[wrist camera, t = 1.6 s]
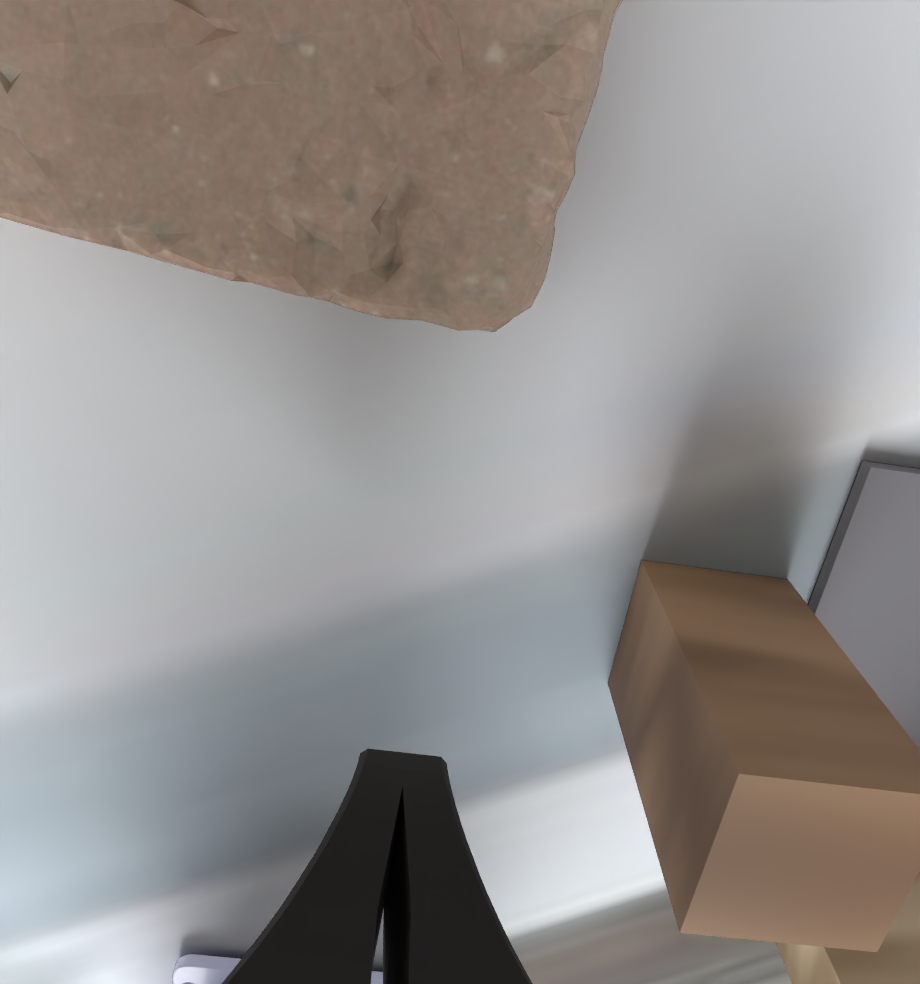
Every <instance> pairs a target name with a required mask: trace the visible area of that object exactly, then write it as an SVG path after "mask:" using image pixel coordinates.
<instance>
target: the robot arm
mask: <svg viewBox="0 0 920 984" xmlns="http://www.w3.org/2000/svg"><path fill="white" fill-rule="evenodd" d="M383 908H384V924H383V972H378V971H372V965H373V960H374V955H375V950H376V945H377V939H378V934H379V929H380V924H381V918H382V913H383ZM173 984H532V982H531V980H530V979H529V977H528V975H527V973H526V971H525V970H524V968H523V966H522V964H521V962H520V960H519V958H518V956H517V955H516V953H515V951H514V949H513V947H512V945H511V943H510V941H509V939H508V937H507V935H506V933H505V931H504V929H503V927H502V925H501V923H500V921H499V918H498V916H497V914H496V912H495V910H494V907H493V905H492V903H491V901H490V898H489V896H488V894H487V892H486V889H485V887H484V884H483V882H482V879H481V877H480V875H479V872H478V869H477V867H476V864H475V861H474V859H473V856H472V853H471V851H470V848H469V845H468V843H467V840H466V837H465V834H464V831H463V828H462V825H461V822H460V818H459V815H458V812H457V808H456V805H455V801H454V798H453V794H452V790H451V786H450V781H449V776H448V770H447V763H446V762H445V761H444V760H443V759H442V757H437V756H428V755H419V754H411V753H402V752H393V751H384V750H375V749H367V750H365V751H363V752H362V753H360V757H359V761H358V765H357V768H356V771H355V773H354V776H353V779H352V782H351V784H350V786H349V789H348V791H347V793H346V795H345V798H344V800H343V802H342V804H341V806H340V808H339V810H338V812H337V814H336V816H335V818H334V820H333V822H332V824H331V825H330V827H329V829H328V831H327V833H326V835H325V837H324V838H323V840H322V842H321V844H320V846H319V848H318V849H317V851H316V853H315V854H314V856H313V858H312V859H311V861H310V862H309V864H308V866H307V867H306V869H305V870H304V872H303V874H302V875H301V877H300V878H299V880H298V881H297V883H296V885H295V886H294V888H293V889H292V891H291V893H290V894H289V896H288V897H287V898H286V900H285V901H284V903H283V904H282V906H281V907H280V909H279V910H278V911H277V913H276V914H275V916H274V917H273V918H272V920H271V921H270V923H269V924H268V925H267V927H266V928H265V929H264V931H263V932H262V933H261V935H260V936H259V937H258V939H257V940H256V941H255V943H254V944H253V945H252V947H251V948H250V949H249V950H248V952H247V953H246V954H245V955H244V957H243V958H242V959H239V958H229V957H218V956H207V955H197V954H187V955H185V956H182V957H180V958H179V959H178V960H177V962H176V965H175V968H174V971H173Z"/></svg>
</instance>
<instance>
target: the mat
mask: <svg viewBox="0 0 920 984" xmlns="http://www.w3.org/2000/svg"><path fill="white" fill-rule="evenodd" d="M808 606H809V608H810V609H811V610H812V612H813V613H814V614H815V615H816V617H817V618H818V619H819V621H820V622H821V623H822V624H823V626H824V627H825V628H826V630H827V631H828V632H829V633H830V635H831V636H832V637H833V639H834V640H835V641H836V642H837V644H838V645H839V646H840V648H841V649H842V650H843V652H844V653H845V654H846V655H847V657H848V658H849V659H850V661H851V662H852V663H853V664H854V666H855V667H856V668H857V670H858V671H859V672H860V673H861V675H862V676H863V677H864V679H865V680H866V681H867V682H868V684H869V685H870V686H871V688H872V689H873V690H874V692H875V693H876V694H877V695H878V697H879V698H880V699H881V701H882V702H883V703H884V704H885V706H886V707H887V708H888V710H889V711H890V712H891V713H892V715H893V716H894V717H895V719H896V720H897V721H898V722H899V724H900V725H901V726H902V728H903V729H904V730H905V732H906V733H907V734H908V735H909V737H910V738H911V739H912V741H913V742H914V743H915V744H916V746H917V747H918V748H919V750H920V469H917V468H910V467H903V466H896V465H889V464H882V463H875V462H868V461H862V463H861V466H860V468H859V471H858V474H857V476H856V479H855V482H854V484H853V487H852V490H851V492H850V495H849V498H848V500H847V503H846V506H845V508H844V511H843V514H842V516H841V519H840V522H839V524H838V527H837V530H836V532H835V535H834V538H833V540H832V543H831V546H830V548H829V551H828V554H827V556H826V559H825V562H824V564H823V567H822V570H821V572H820V575H819V578H818V580H817V583H816V585H815V588H814V591H813V593H812V596H811V599H810V601H809V604H808Z"/></svg>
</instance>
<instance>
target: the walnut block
mask: <svg viewBox="0 0 920 984" xmlns="http://www.w3.org/2000/svg"><path fill="white" fill-rule="evenodd" d="M608 686H609V689H610V693H611V696H612V700H613V703H614V706H615V710H616V713H617V717H618V720H619V724H620V727H621V731H622V734H623V738H624V741H625V745H626V748H627V752H628V755H629V758H630V762H631V765H632V769H633V772H634V776H635V779H636V783H637V786H638V790H639V793H640V797H641V800H642V804H643V807H644V810H645V814H646V817H647V821H648V824H649V828H650V831H651V835H652V838H653V842H654V845H655V849H656V852H657V856H658V859H659V862H660V866H661V869H662V873H663V876H664V880H665V883H666V887H667V890H668V894H669V897H670V901H671V904H672V908H673V911H674V914H675V918H676V921H677V925H678V928H679V932H680V933H688V934H698V935H708V936H718V937H728V938H738V939H748V940H759V941H769V942H779V943H789V944H799V945H809V946H819V947H829V948H839V949H849V950H859V951H869V952H878V950H879V948H880V946H881V944H882V942H883V940H884V938H885V936H886V934H887V933H888V931H889V929H890V927H891V925H892V923H893V921H894V919H895V917H896V915H897V913H898V911H899V910H900V908H901V906H902V904H903V902H904V900H905V898H906V896H907V894H908V892H909V890H910V888H911V887H912V885H913V883H914V881H915V879H916V877H917V875H918V873H919V871H920V750H919V748H918V747H917V746H916V744H915V743H914V742H913V741H912V739H911V738H910V737H909V735H908V734H907V733H906V732H905V730H904V729H903V728H902V726H901V725H900V724H899V722H898V721H897V720H896V719H895V717H894V716H893V715H892V713H891V712H890V711H889V710H888V708H887V707H886V706H885V704H884V703H883V702H882V701H881V699H880V698H879V697H878V695H877V694H876V693H875V692H874V690H873V689H872V688H871V686H870V685H869V684H868V682H867V681H866V680H865V679H864V677H863V676H862V675H861V673H860V672H859V671H858V670H857V668H856V667H855V666H854V664H853V663H852V662H851V661H850V659H849V658H848V657H847V655H846V654H845V653H844V652H843V650H842V649H841V648H840V646H839V645H838V644H837V642H836V641H835V640H834V639H833V637H832V636H831V635H830V633H829V632H828V631H827V630H826V628H825V627H824V626H823V624H822V623H821V622H820V621H819V619H818V618H817V617H816V615H815V614H814V613H813V612H812V610H811V609H810V608H809V606H808V605H807V604H806V603H805V601H804V600H803V599H802V597H801V596H800V595H799V593H798V592H797V591H796V590H795V588H794V587H793V586H792V584H791V583H790V582H789V581H788V579H782V578H775V577H767V576H760V575H752V574H744V573H737V572H729V571H721V570H714V569H706V568H698V567H691V566H683V565H675V564H668V563H660V562H652V561H645V560H641V563H640V567H639V571H638V575H637V578H636V582H635V586H634V589H633V593H632V597H631V600H630V604H629V608H628V611H627V615H626V619H625V622H624V626H623V630H622V633H621V637H620V641H619V644H618V648H617V652H616V655H615V659H614V663H613V666H612V670H611V674H610V677H609V681H608Z"/></svg>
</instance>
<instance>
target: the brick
mask: <svg viewBox="0 0 920 984" xmlns="http://www.w3.org/2000/svg"><path fill="white" fill-rule="evenodd" d="M622 1H623V0H0V217H2V218H5V219H8V220H12V221H15V222H19V223H22V224H26V225H29V226H33V227H36V228H40V229H43V230H47V231H51V232H54V233H58V234H61V235H65V236H68V237H72V238H76V239H80V240H84V241H89V242H93V243H97V244H101V245H106V246H110V247H114V248H118V249H123V250H127V251H131V252H134V253H137V254H141V255H144V256H147V257H151V258H154V259H158V260H161V261H164V262H168V263H172V264H175V265H179V266H183V267H186V268H190V269H194V270H197V271H201V272H204V273H208V274H211V275H215V276H218V277H222V278H225V279H229V280H232V281H243V282H252V283H256V284H259V285H263V286H266V287H270V288H273V289H277V290H280V291H284V292H287V293H290V294H294V295H299V296H307V297H312V298H316V299H321V300H325V301H329V302H332V303H335V304H338V305H340V306H343V307H346V308H349V309H352V310H356V311H360V312H364V313H368V314H372V315H376V316H380V317H384V318H393V319H409V320H423V321H427V322H430V323H434V324H438V325H441V326H445V327H449V328H452V329H456V330H484V331H492V332H495V331H497V330H498V329H499V328H501V327H502V326H504V325H505V324H506V323H508V322H509V321H510V320H512V319H513V318H514V317H515V316H517V315H519V314H520V313H522V312H523V311H525V310H527V309H528V308H530V307H531V306H532V304H533V302H534V300H535V298H536V296H537V294H538V292H539V290H540V288H541V285H542V283H543V281H544V279H545V276H546V272H547V268H548V264H549V260H550V256H551V251H552V245H553V238H554V231H555V228H554V220H555V216H556V211H557V209H558V207H559V205H560V204H561V202H562V200H563V198H564V197H565V195H566V193H567V190H568V188H569V186H570V183H571V181H572V179H573V176H574V174H575V149H576V147H577V144H578V142H579V139H580V137H581V134H582V131H583V129H584V126H585V124H586V121H587V118H588V115H589V112H590V109H591V106H592V103H593V100H594V97H595V94H596V91H597V88H598V86H599V79H600V75H601V70H602V63H603V54H604V50H605V47H606V43H607V40H608V36H609V32H610V29H611V25H612V21H613V17H614V15H615V13H616V11H617V9H618V7H619V5H620V4H621V2H622Z"/></svg>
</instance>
